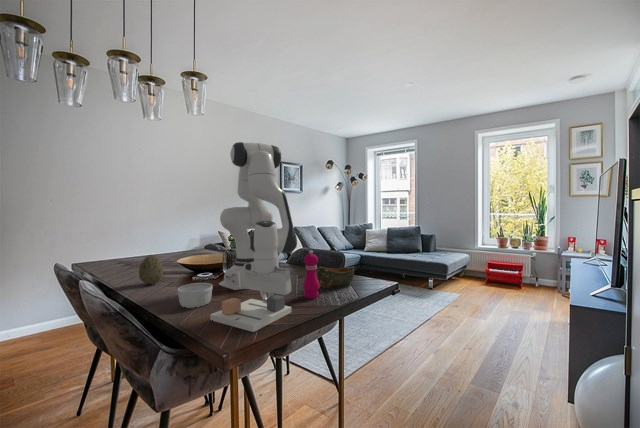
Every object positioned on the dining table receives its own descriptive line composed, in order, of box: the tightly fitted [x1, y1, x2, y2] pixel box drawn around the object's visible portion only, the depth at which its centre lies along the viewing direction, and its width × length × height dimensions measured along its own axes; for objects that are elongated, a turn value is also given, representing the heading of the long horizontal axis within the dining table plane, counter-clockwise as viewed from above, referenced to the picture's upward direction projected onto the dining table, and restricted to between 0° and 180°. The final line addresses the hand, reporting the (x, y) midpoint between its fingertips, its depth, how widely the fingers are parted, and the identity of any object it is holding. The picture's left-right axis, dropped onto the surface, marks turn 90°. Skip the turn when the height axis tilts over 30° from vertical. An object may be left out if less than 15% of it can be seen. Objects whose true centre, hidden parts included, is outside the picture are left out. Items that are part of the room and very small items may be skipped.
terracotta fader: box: [221, 297, 242, 315], centre depth 106 cm, size 4×5×4 cm
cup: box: [316, 266, 355, 290], centre depth 146 cm, size 13×20×10 cm, turn 87°
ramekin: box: [177, 282, 213, 309], centre depth 122 cm, size 13×13×7 cm
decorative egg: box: [138, 254, 164, 285], centre depth 154 cm, size 11×11×15 cm
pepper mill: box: [302, 249, 321, 299], centre depth 130 cm, size 7×7×20 cm
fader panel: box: [209, 298, 293, 333], centre depth 107 cm, size 20×20×2 cm
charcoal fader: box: [267, 294, 286, 312], centre depth 108 cm, size 4×5×4 cm
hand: (267, 303), depth 110 cm, fingers closed
